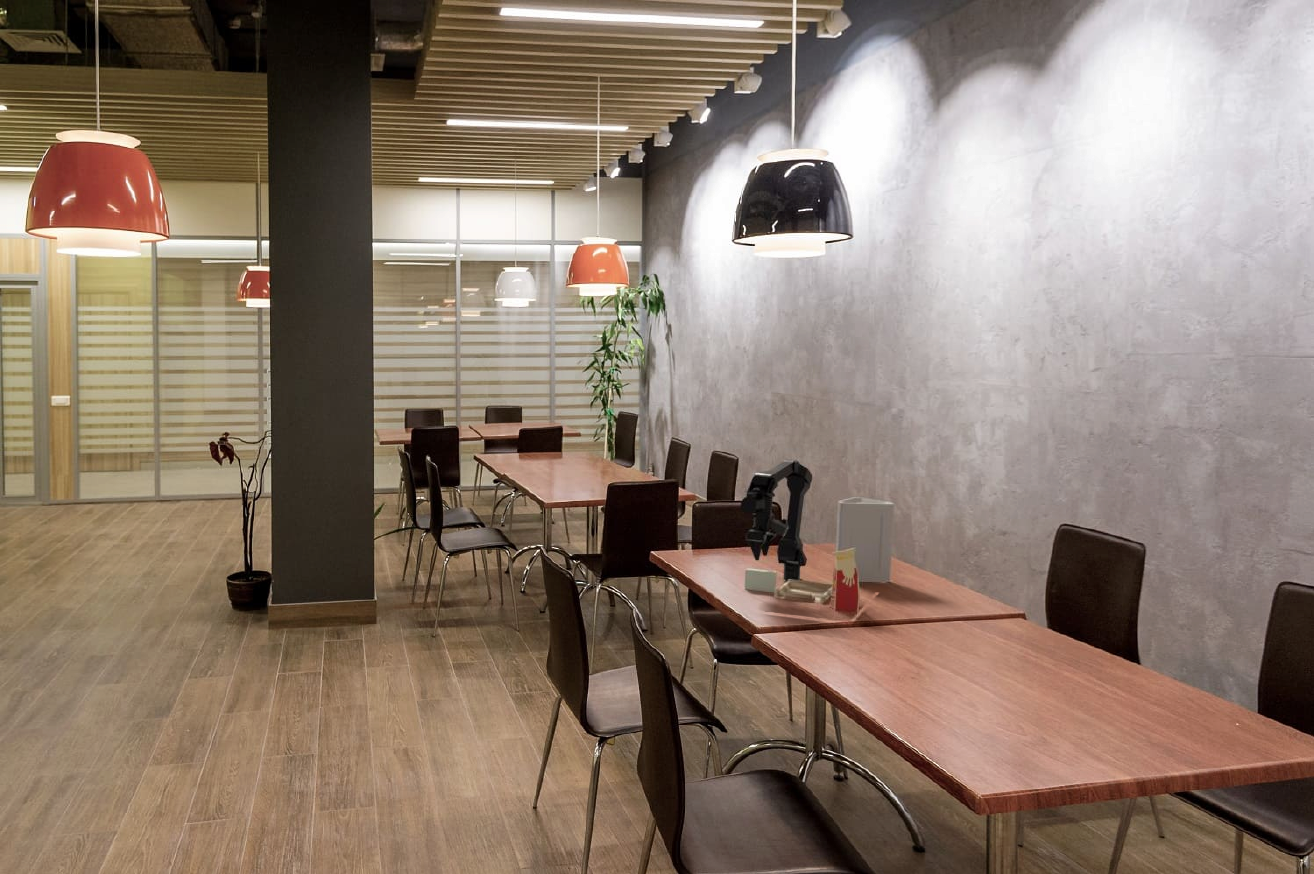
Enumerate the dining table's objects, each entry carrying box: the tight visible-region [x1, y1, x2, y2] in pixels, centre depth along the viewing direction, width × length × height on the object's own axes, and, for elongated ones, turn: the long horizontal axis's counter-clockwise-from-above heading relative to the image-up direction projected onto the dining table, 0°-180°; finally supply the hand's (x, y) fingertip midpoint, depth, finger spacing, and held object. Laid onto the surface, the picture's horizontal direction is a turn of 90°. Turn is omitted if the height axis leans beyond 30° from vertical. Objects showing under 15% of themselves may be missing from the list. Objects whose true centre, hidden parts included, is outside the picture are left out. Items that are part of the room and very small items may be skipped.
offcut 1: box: [785, 591, 812, 598], centre depth 340 cm, size 4×8×1 cm, turn 74°
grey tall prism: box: [834, 497, 895, 583], centre depth 378 cm, size 19×15×28 cm
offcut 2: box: [784, 596, 815, 603], centre depth 340 cm, size 4×9×1 cm, turn 68°
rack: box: [773, 579, 833, 604], centre depth 347 cm, size 18×16×4 cm
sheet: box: [744, 567, 778, 593], centre depth 351 cm, size 2×10×7 cm, turn 68°
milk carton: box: [829, 548, 861, 614], centre depth 330 cm, size 9×9×20 cm
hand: (761, 557), depth 350 cm, fingers open, 9 cm apart
